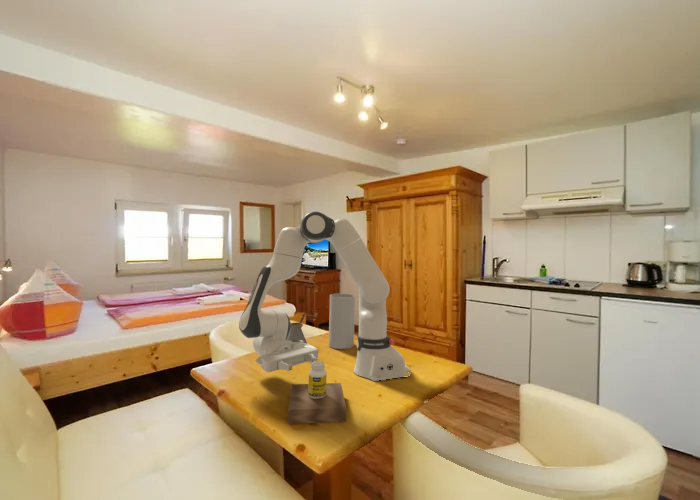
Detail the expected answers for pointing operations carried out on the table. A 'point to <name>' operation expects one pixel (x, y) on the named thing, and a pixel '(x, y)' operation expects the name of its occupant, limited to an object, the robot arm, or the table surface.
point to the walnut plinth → (316, 405)
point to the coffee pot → (297, 331)
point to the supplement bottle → (317, 380)
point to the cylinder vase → (341, 321)
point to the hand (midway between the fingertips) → (303, 364)
